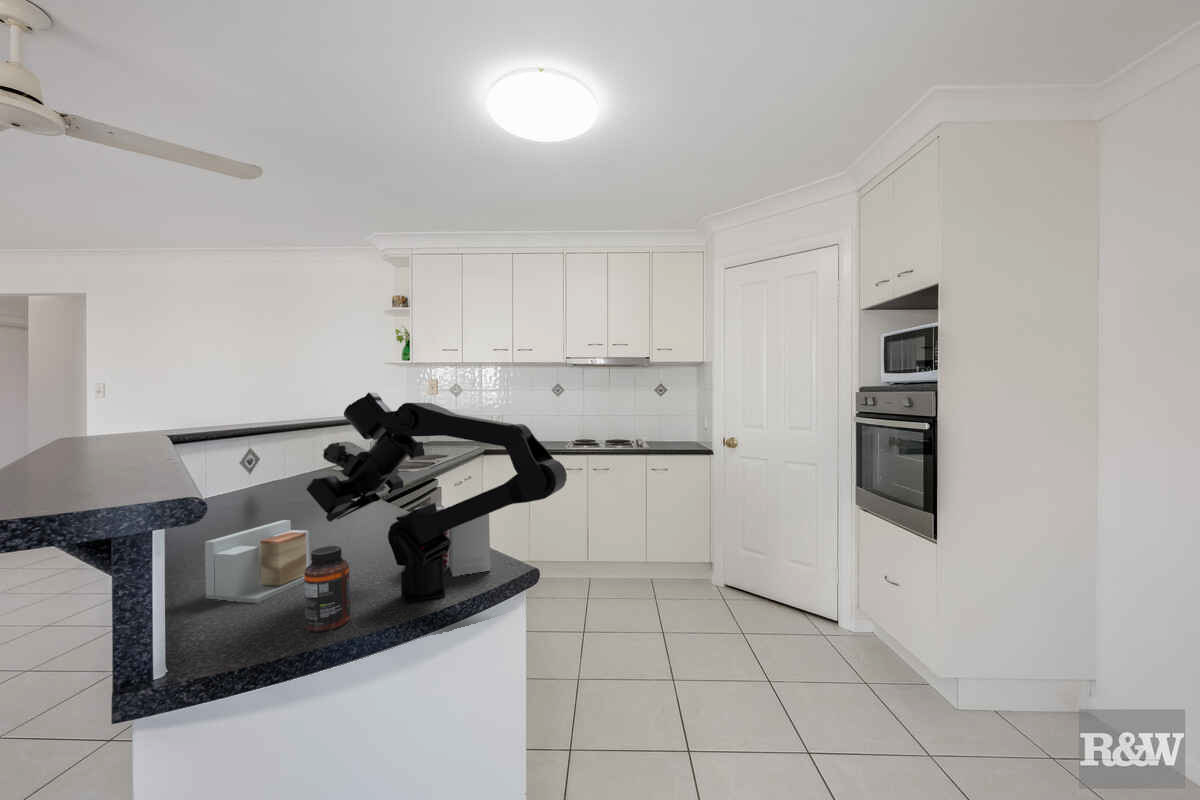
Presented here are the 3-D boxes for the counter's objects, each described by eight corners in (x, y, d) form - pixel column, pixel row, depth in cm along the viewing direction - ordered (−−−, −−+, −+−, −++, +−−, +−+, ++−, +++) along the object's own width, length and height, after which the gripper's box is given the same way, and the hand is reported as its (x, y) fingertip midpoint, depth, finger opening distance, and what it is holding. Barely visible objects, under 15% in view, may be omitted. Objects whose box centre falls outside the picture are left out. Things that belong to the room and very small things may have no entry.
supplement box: (491, 572, 95) (489, 507, 95) (451, 577, 92) (450, 511, 92) (485, 561, 102) (484, 500, 102) (448, 566, 99) (447, 504, 99)
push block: (306, 574, 93) (305, 532, 93) (279, 585, 87) (278, 541, 87) (288, 573, 94) (288, 532, 94) (261, 584, 88) (260, 540, 88)
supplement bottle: (340, 612, 77) (339, 541, 78) (357, 622, 74) (356, 547, 74) (298, 626, 73) (297, 550, 73) (314, 637, 69) (313, 557, 69)
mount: (328, 571, 98) (327, 521, 98) (256, 603, 82) (256, 543, 82) (283, 568, 100) (283, 520, 100) (205, 599, 84) (205, 541, 84)
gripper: (388, 424, 97) (342, 479, 99) (315, 429, 78) (259, 496, 80) (425, 463, 95) (376, 519, 97) (358, 478, 77) (300, 545, 79)
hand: (332, 518), depth 88 cm, fingers closed
